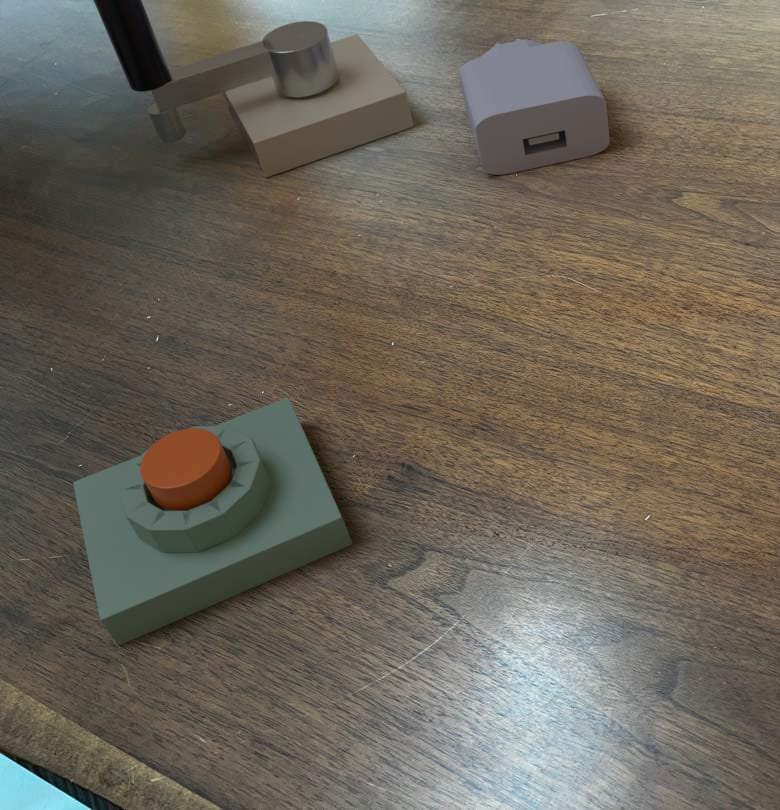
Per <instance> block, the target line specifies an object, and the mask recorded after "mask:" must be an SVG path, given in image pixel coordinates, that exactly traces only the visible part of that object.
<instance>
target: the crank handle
mask: <svg viewBox="0 0 780 810" xmlns="http://www.w3.org/2000/svg"><path fill="white" fill-rule="evenodd" d="M92 1H93V3H94V6H95V8H96V11H97V12H98V14H99V17H100V19H101V22H102V25H103V26H104V29H105V31H106V33H107V37H108V39H109V41H110V43H111V45H112V47H113V50H114V52H115V55H116V57H117V59H118V62H119V65H120V67H121V69H122V71H123V73H124V76H125V79H126V81H127V83H128V85H129V87H130V89H131V90H133V92H137V93H138V92H139V93H144V92H150V93H151V95H152V97H153V100H154V103H152V104H151V105H150V106H148V109H147V113H148V115H149V117H150V120H151V122H152V124H153V127H154V129H155V132H156V134H157V136H158V139H159V140H160V142H161V143H165V144H166V143H167V144H171V143H174V142H178V141H180V140H182V139H183V138H185V136H186V134H187V131H186V128H185V126H184V124H183V120H182V119H181V116H180V113H179V110H178V108H179V107H183V106H185V105H188V104H192V103H195V102H197V101H201V100H204V99H207V98H210V97H213V96H217V95H220V94H223V92H226V91H229V90H232V89H235V88H238V87H241V86H244V85H247V84H250V83H253V82H256V81H259V80H262V79H265V78H269V77H272V79H273V82H274V85H275V88H276V90H277V92H278V93H280V94H281V95H283V96H287V97H306V96H311V95H314V94H317V93H320V92H322V91H325V90H326V89H328V88H330V87H331V86H333V85H334V84H335V83H336V81H337V80H338V78H339V72H338V68H337V64H336V61H335V57H334V53H333V50H332V46H331V40H330V36H329V33H328V29H327V27H326V26H325V25H324V24H322V23H320V22H317V21H309V20H304V21H303V20H302V21H296V22H291V23H287V24H284V25H281V26H279V27H276V28H274V29H272V30H271V31H269V32H268V33H267V34H265V35H264V37H263V38H262V40H260V41H258V42H254V43H251V44H248V45H245V46H242V47H239V48H236V49H232V50H228V51H226V52H222V53H220V54H216V55H213V56H210V57H207V58H203V59H201V60H198V61H195V62H191V63H188V64H185V65H182V66H178V67H175V68H172V69H169V66H168V64H167V61H166V59H165V56H164V54H163V51H162V49H161V47H160V44H159V41H158V39H157V36H156V33H155V31H154V29H153V25H152V24H151V21H150V18H149V16H148V13H147V10H146V8H145V6H144V4H143V1H142V0H92Z"/></svg>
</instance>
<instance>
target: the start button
mask: <svg viewBox="0 0 780 810" xmlns="http://www.w3.org/2000/svg"><path fill="white" fill-rule="evenodd" d="M191 428H192V427H191ZM149 448H150V449H149ZM149 448H148V449H149V450H148V449H147V450H148V451H147V450H146V451H147V452H146V451H145V452H146V454H145V455H144V457H143V459H142V462H141V466H140V472H141V476H142V478H143V480H144V482H145V484H146V485H147V487H148V489H149V491H150V492H151V494H152V496H153V498H154V499H155V501H156V502H157V503H158V504H159V505H160V506H162V507H163V508H165V509H168V510H172V511H187V510H190V509H193V508H195V507H198V506H200V505H203V504H205V503H207V502H210V501H212V500H213V499H214V498H215V497H216V496H217V495H218V494H219V493H220V492H221V491H222V490H224V489H225V488H226V486H227V485H228V483H229V481H230V478H231V474H232V467H231V464H230V461H229V459H228V457H227V455H226V453H225V451H224V449H223V447H222V445H221V443H220V441H219V439H218V438H217V436H216V435H214V434H213V433H211V432H210V431H207V430H204V429H198V428H192V429H189V428H183V429H179V430H177V431H174V432H171V433H169V434H167V435H165V436H163V437H161V438H160V439H158V440H157V441H156V442H155V443H153V445H151V446H150V447H149Z"/></svg>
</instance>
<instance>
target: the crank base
mask: <svg viewBox="0 0 780 810" xmlns="http://www.w3.org/2000/svg"><path fill="white" fill-rule="evenodd" d="M330 43H331V46H332V50H333V53H334V57H335V61H336V64H337V68H338V72H339V78H338V80H337V81H336V83H335V84H334V85H333V86H331V87H330V88H328V89H326V90H325V91H322V92H320V93H317V94H314V95H311V96H306V97H287V96H283V95H281V94H280V93H278V92H277V90H276V88H275V85H274V82H273V79H272V77H269V78H265V79H262V80H259V81H256V82H253V83H250V84H247V85H244V86H241V87H238V88H235V89H232V90H229V91H226V92H222V95H223V97H224V101H225V102H226V106H227V109H228V112H229V114H230V115H231V117H232V119H233V121H234V123H235V124H236V126H237V129H238V130H239V132H240V134H241V135H242V137H243V139H244V141H245V143H246V144H247V146H248V148H249V150H250V152H251V154H252V156H253V158H254V160H255V161H256V163H257V165H258V166H259V169H260V170H261V172H262V174H263V176H264V177H265V179H266V178H269V177H272V176H276V175H279V174H282V173H284V172H287V171H289V170H292V169H295V168H298V167H301V166H304V165H308V164H310V163H313V162H316V161H318V160H321V159H324V158H328V157H330V156H333V155H335V154H338V153H341V152H344V151H347V150H351V149H353V148H356V147H359V146H362V145H364V144H367V143H370V142H373V141H377V140H380V139H382V138H385V137H389V136H390V135H393V134H396V133H399V132H402V131H406V130H407V129H411V128H413V127H414V121H413V116H412V112H411V107H410V103H409V99H408V94H407V91H406V90H405V89H404V88H403V86H402V85H401V83H399V82H398V80H397V79H396V78H395V76H394V75H393V74H391V72H390V71H389V70H388V68H386V67H385V65H384V63H382V61H380V59H379V58H378V57H377V56H376V55H375V53H374V52H373V51H372V50H371V49H370V47H369V46H368V45H367V44H366V43H365V41H364V40H363V39H362V38H361V36H360V35H358V33H356V34H352V35H350V36H346V37H344V38H341V39H337V40H334V41H330Z"/></svg>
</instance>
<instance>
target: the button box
mask: <svg viewBox="0 0 780 810" xmlns="http://www.w3.org/2000/svg"><path fill="white" fill-rule="evenodd" d="M192 428H198V429H204V430H207V431H210V432H211V433H213V434H214V435H216V436H217V438H218V439H219V441H220V443H221V445H222V447H223V449H224V451H225V453H226V455H227V457H228V459H229V461H230V464H231V467H232V474H231V478H230V481H229V483H228V485H227V486H226V488H225V489H224V490H222V491H221V492H220V493H219V494H218V495H217V496H216V497H215V498H214V499H213V500H212V501H210V502H207V503H205V504H203V505H200V506H198V507H195V508H193V509H190V510H187V511H172V510H168V509H165V508H163V507H162V506H160V505H159V504H158V503H157V502H156V501H155V499H154V498H153V496H152V494H151V492H150V491H149V489H148V487H147V485H146V484H145V482H144V480H143V478H142V476H141V472H140V466H141V462H142V459H143V457H144V455H145V454H146V452H147V451H148V450H149V449H150V447H149V448H148V449H147V450H145V451H144V452H143V453H142V454H141V455H138V456H136V457H133V458H130V459H128V460H126V461H123V462H121V463H118V464H115V465H113V466H110V467H108V468H105V469H103V470H101V471H97V472H95V473H93V474H90V475H87V476H84V477H82V478H80V479H78V480H75V481H73V482H72V484H73V490H74V493H75V494H74V496H75V500H76V504H77V505H76V506H77V510H78V516H79V521H80V525H81V530H82V535H83V541H84V545H85V551H86V556H87V562H88V566H89V570H90V576H91V581H92V586H93V591H94V596H95V602H96V607H97V611H98V617H99V621H100V622H101V625H102V626H103V627H104V628H105V630H106V631H107V632H108V634H109V635H110V637H111V638H112V639H113V641H114V642H115V643H116V645H117V646H119V647H120V646H122V645H124V644H127V643H129V642H131V641H133V640H135V639H138V638H140V637H143V636H146V635H147V634H149V633H152V632H154V631H156V630H159V629H162V628H163V627H166V626H168V625H170V624H172V623H175V622H178V621H179V620H182V619H185V618H187V617H189V616H191V615H194V614H196V613H198V612H200V611H202V610H205V609H207V608H209V607H212V606H214V605H217V604H219V603H221V602H224V601H226V600H228V599H231V598H232V597H235V596H237V595H239V594H242V593H244V592H246V591H249V590H251V589H253V588H256V587H258V586H260V585H262V584H265V583H268V582H270V581H272V580H274V579H276V578H279V577H281V576H283V575H285V574H287V573H290V572H292V571H294V570H297V569H299V568H302V567H304V566H306V565H309V564H311V563H314V562H315V561H318V560H320V559H322V558H325V557H327V556H329V555H331V554H333V553H337V552H339V551H341V550H344V549H346V548H347V547H350V546H352V545H353V540H352V538H351V536H350V533H349V531H348V528H347V526H346V523H345V521H344V518H343V515H342V513H341V511H340V509H339V507H338V505H337V503H336V500H335V497H334V495H333V493H332V491H331V489H330V487H329V484H328V482H327V480H326V477H325V475H324V472H323V471H322V468H321V466H320V463H319V461H318V460H317V457H316V455H315V452H314V449H313V448H312V446H311V444H310V441H309V439H308V437H307V434H306V433H305V430H304V428H303V426H302V424H301V421H300V419H299V416H298V414H297V412H296V410H295V408H294V406H293V403H292V401H291V398H290V396H287V397H284V398H282V399H280V400H277V401H274V402H272V403H269V404H267V405H264V406H262V407H259V408H257V409H254V410H252V411H248V412H246V413H243V414H242V415H238V416H236V417H234V418H232V419H228V420H227V421H224V422H221V423H219V424H216V425H195V426H192V427H188V429H192Z"/></svg>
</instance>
